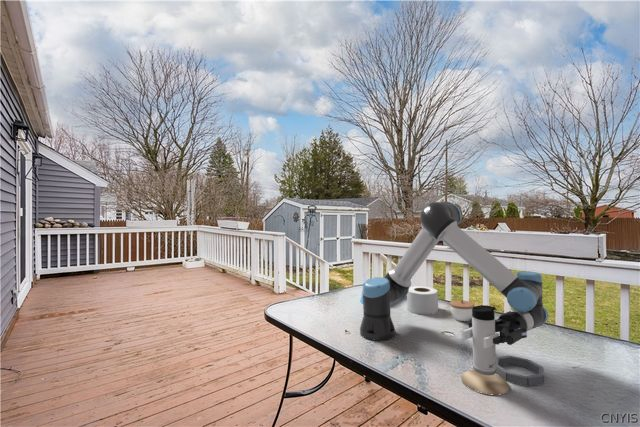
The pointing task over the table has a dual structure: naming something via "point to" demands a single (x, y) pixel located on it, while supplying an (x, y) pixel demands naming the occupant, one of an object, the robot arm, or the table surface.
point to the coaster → (485, 382)
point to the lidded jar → (461, 309)
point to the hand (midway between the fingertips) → (473, 339)
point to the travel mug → (481, 329)
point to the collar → (518, 378)
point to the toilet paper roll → (422, 300)
